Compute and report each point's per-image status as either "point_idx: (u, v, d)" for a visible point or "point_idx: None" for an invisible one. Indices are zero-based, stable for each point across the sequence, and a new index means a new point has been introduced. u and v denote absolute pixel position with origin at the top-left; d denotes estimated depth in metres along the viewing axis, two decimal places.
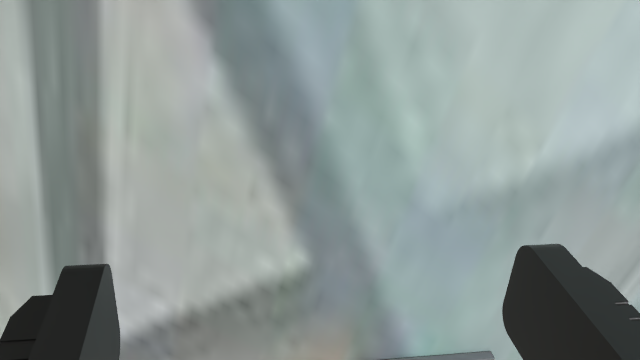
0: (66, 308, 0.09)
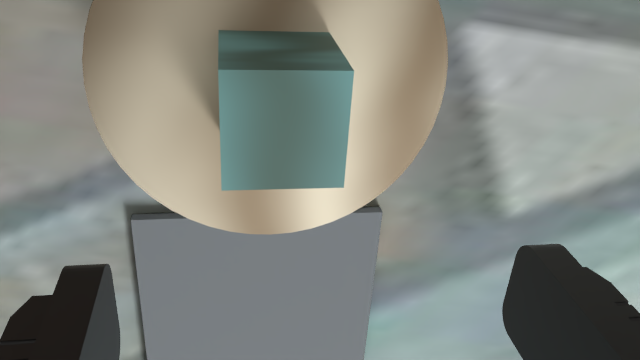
0: (66, 308, 0.09)
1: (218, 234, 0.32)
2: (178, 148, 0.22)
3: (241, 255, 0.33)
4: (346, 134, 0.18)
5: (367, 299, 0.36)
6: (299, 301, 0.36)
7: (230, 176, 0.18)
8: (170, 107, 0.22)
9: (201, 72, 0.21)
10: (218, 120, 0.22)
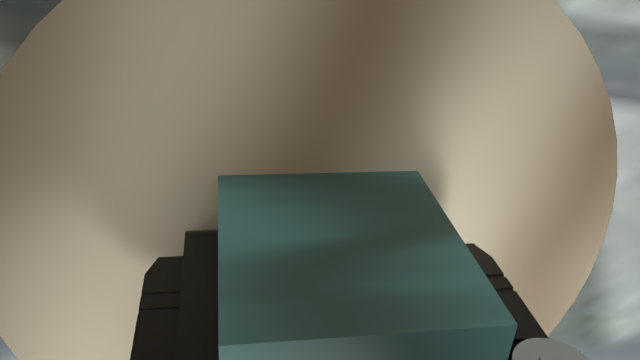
0: (198, 265, 0.10)
1: None
2: None
3: None
4: None
5: None
6: None
7: None
8: (132, 299, 0.12)
9: None
10: None
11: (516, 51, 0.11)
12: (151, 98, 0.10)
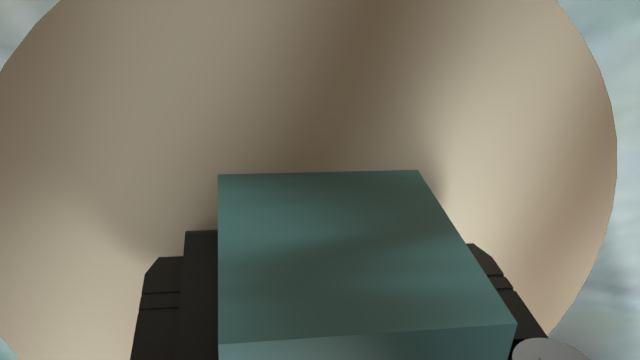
0: (198, 264, 0.10)
1: None
2: None
3: None
4: None
5: None
6: None
7: None
8: (132, 299, 0.12)
9: None
10: None
11: (516, 49, 0.11)
12: (151, 96, 0.10)
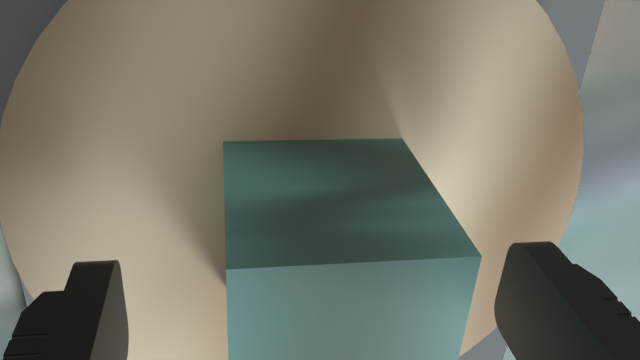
0: (77, 303, 0.09)
1: None
2: (160, 311, 0.14)
3: None
4: (455, 352, 0.10)
5: None
6: None
7: None
8: (145, 256, 0.13)
9: (195, 205, 0.13)
10: (222, 270, 0.14)
11: (489, 28, 0.12)
12: (164, 69, 0.11)
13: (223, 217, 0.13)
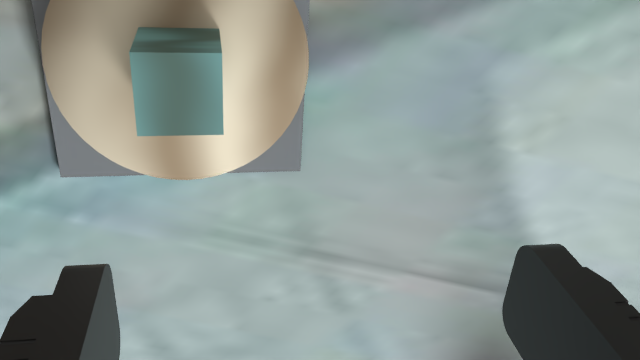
0: (66, 308, 0.09)
1: None
2: (113, 113, 0.31)
3: None
4: (221, 97, 0.27)
5: None
6: None
7: (142, 126, 0.27)
8: (106, 82, 0.30)
9: (127, 57, 0.30)
10: None
11: None
12: None
13: None
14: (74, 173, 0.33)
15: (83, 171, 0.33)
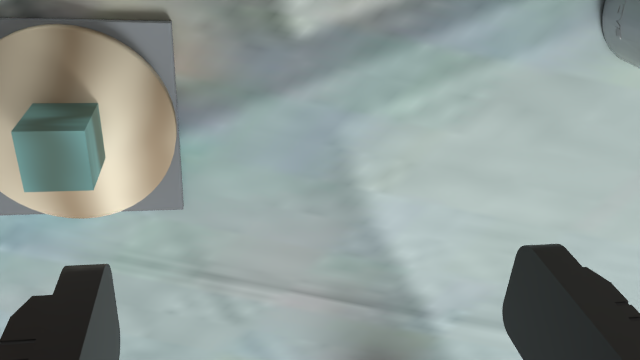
0: (66, 308, 0.09)
1: None
2: (18, 167, 0.39)
3: None
4: (88, 162, 0.35)
5: None
6: None
7: (27, 184, 0.35)
8: (10, 145, 0.38)
9: None
10: None
11: (119, 65, 0.37)
12: (9, 79, 0.36)
13: None
14: None
15: (1, 211, 0.41)
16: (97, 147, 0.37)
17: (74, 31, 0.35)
